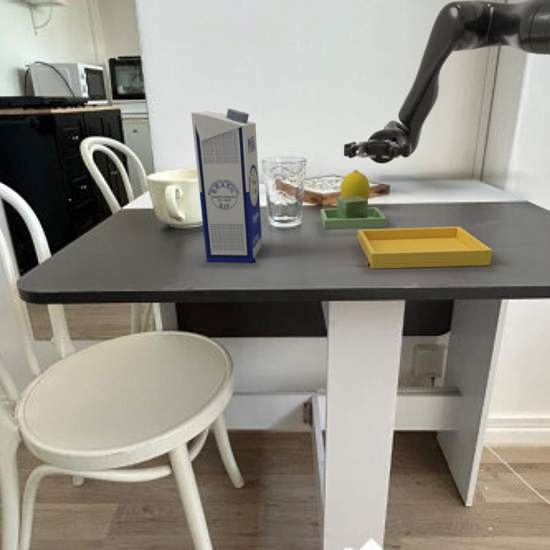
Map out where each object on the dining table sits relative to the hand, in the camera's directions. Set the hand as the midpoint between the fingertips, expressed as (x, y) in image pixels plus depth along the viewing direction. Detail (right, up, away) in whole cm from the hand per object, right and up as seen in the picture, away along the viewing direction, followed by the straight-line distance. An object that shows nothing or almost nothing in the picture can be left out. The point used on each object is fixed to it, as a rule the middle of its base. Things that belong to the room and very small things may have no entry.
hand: (369, 153), depth 92 cm
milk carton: (-26, -23, -27) cm, 44 cm away
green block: (-6, -16, -15) cm, 23 cm away
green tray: (-6, -17, -15) cm, 23 cm away
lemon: (-4, -13, -6) cm, 15 cm away
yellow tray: (0, -22, -30) cm, 38 cm away
